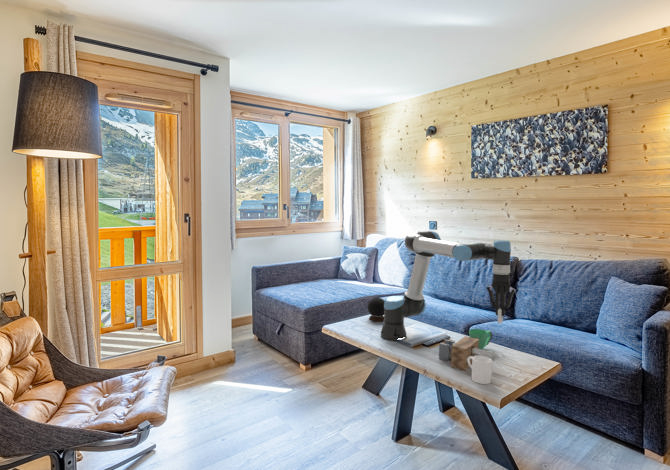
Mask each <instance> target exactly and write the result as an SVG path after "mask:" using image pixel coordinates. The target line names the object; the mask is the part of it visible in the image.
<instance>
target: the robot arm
mask: <svg viewBox="0 0 670 470" xmlns="http://www.w3.org/2000/svg"><path fill="white" fill-rule="evenodd" d="M404 246H405V248H406V249H407V250H408V251H409V252H412V253H414V254H415V257H414V262H413V265H412V271H411V275H410V280H409V284H408V288H407V290H406V291H405V292H404V294H403V296H401V295H391V296H388V297H386V298H385V299H384V301H385V303H384V315H383V316H384V321H383V325H382V328H381V330H380V337H381V338H382V339H384V340H388V341H393V342H395V341H397V339H398V338H403V337H406V338H407V331H406V327H405V322H404V321H405V318H410V317H417V316H419V315H422V314H423V313H424V312H425V310H426V307H427V303H426V299H425V296H424V294H423V291H424V288H425V283H426V279H427V274H428V271H429V267H430V262H431V258H433V257H435V255H437V256H438V255H439V256H443V257H448V258H453V259H455V260H456V261H459V262H466V261H473V260H491V261H492V272H493V273H492V282H491V285H487V286H486V291H487V292H488V295H489V301H490V305H491V307H492V308H495V316H497V324H502V323H503V319H504V318H503V317H505V315H506V310H508V309H509V308H510V307H511V303H512V299H513V296H514V294H515V293H516V288H513V287H512V286H511V274H510V273H511V252H512V249H511V248H512V246H511V242H510V241H509V240H500V239H499V240H498V239H496V240H494V241H493V242H492V243H483V242H474V243H471V244H469V243H468V244H465V243H459V242H452V241H448V240H442V239H441V237H440V235H439V233H438V232H437V231H433V230H421V231H419V230H418V231H415V230H414V231H411V232H410V233H408V234H407V235H406V236H405V239H404ZM493 290H494V291H495V295H494V291H493ZM507 292H509V294H508V297H507V301H506V296H507ZM500 305H501V306H500Z"/></svg>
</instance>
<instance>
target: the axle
mask: <svg viewBox="0 0 670 470" xmlns="http://www.w3.org/2000/svg"><path fill="white" fill-rule="evenodd" d="M455 343H456V342H455ZM455 343H452V345H454V344H455ZM451 349H452V346H451ZM471 355H474V356H486V357H488V358H490V359H491V360H492V361H494V360H495V355H496V354H495V352H494V351H490V350H485V349H483V350H482V349H477V348H473V347H471Z"/></svg>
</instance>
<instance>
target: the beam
mask: <svg viewBox="0 0 670 470" xmlns="http://www.w3.org/2000/svg"><path fill="white" fill-rule="evenodd" d="M471 347H473V348H477V349H479V339H476V338H471V337H470V336H466V335H465V336H464V337H462V338H461V339H459V340H458V341H457V342H455V344H454V345H452V356H451V360H450V367H451V368H455V369H458V370H462V371H465V372H466V371H467V369H469V368H470V366H469V365H468V361H467V359H468V357H469V356H472V357H474V355H471ZM470 364H471V365H472V359H470Z"/></svg>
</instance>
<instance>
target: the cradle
mask: <svg viewBox="0 0 670 470" xmlns="http://www.w3.org/2000/svg"><path fill="white" fill-rule="evenodd" d="M452 343H456V341H455V340H450V339H444V343H443V342H440V343H439V344H438V360H441V361H444V362H451V356H452V349H451V346H452Z"/></svg>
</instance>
